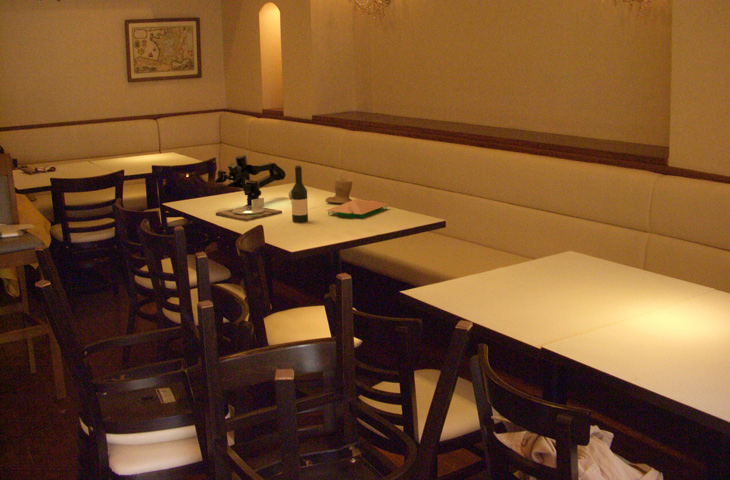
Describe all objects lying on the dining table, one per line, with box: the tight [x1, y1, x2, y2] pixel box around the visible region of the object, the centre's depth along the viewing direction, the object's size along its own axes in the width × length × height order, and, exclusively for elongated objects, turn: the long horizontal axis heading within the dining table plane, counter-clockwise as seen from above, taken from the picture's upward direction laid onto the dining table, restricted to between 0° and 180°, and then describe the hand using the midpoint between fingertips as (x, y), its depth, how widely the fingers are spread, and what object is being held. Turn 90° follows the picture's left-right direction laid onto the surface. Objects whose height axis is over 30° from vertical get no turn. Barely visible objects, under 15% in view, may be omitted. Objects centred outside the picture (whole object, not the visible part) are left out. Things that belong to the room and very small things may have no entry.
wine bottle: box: [291, 164, 309, 224], centre depth 391 cm, size 8×8×30 cm
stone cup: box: [324, 177, 353, 205], centre depth 440 cm, size 15×12×15 cm
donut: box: [288, 187, 293, 202], centre depth 444 cm, size 10×4×10 cm, turn 121°
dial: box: [232, 197, 266, 215], centre depth 413 cm, size 22×18×6 cm
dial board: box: [215, 205, 283, 222], centre depth 414 cm, size 26×26×2 cm
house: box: [325, 198, 389, 219], centre depth 414 cm, size 23×33×8 cm
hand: (221, 183), depth 414 cm, fingers open, 9 cm apart
